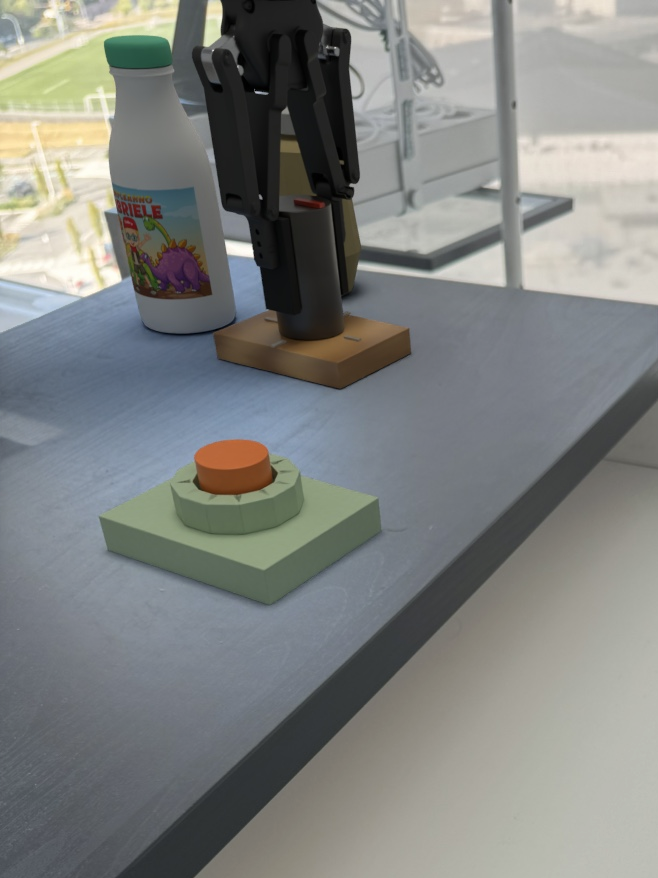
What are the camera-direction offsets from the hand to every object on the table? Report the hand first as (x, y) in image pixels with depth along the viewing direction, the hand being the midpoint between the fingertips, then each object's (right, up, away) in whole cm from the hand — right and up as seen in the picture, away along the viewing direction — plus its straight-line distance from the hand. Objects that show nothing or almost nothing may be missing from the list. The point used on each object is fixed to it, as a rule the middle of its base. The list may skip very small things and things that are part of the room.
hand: (308, 300), depth 89 cm
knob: (0, -2, +1) cm, 2 cm away
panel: (0, -3, +3) cm, 4 cm away
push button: (+2, -20, -23) cm, 31 cm away
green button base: (+1, -23, -21) cm, 31 cm away
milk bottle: (-12, +2, +9) cm, 15 cm away
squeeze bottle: (-3, +7, +15) cm, 17 cm away
